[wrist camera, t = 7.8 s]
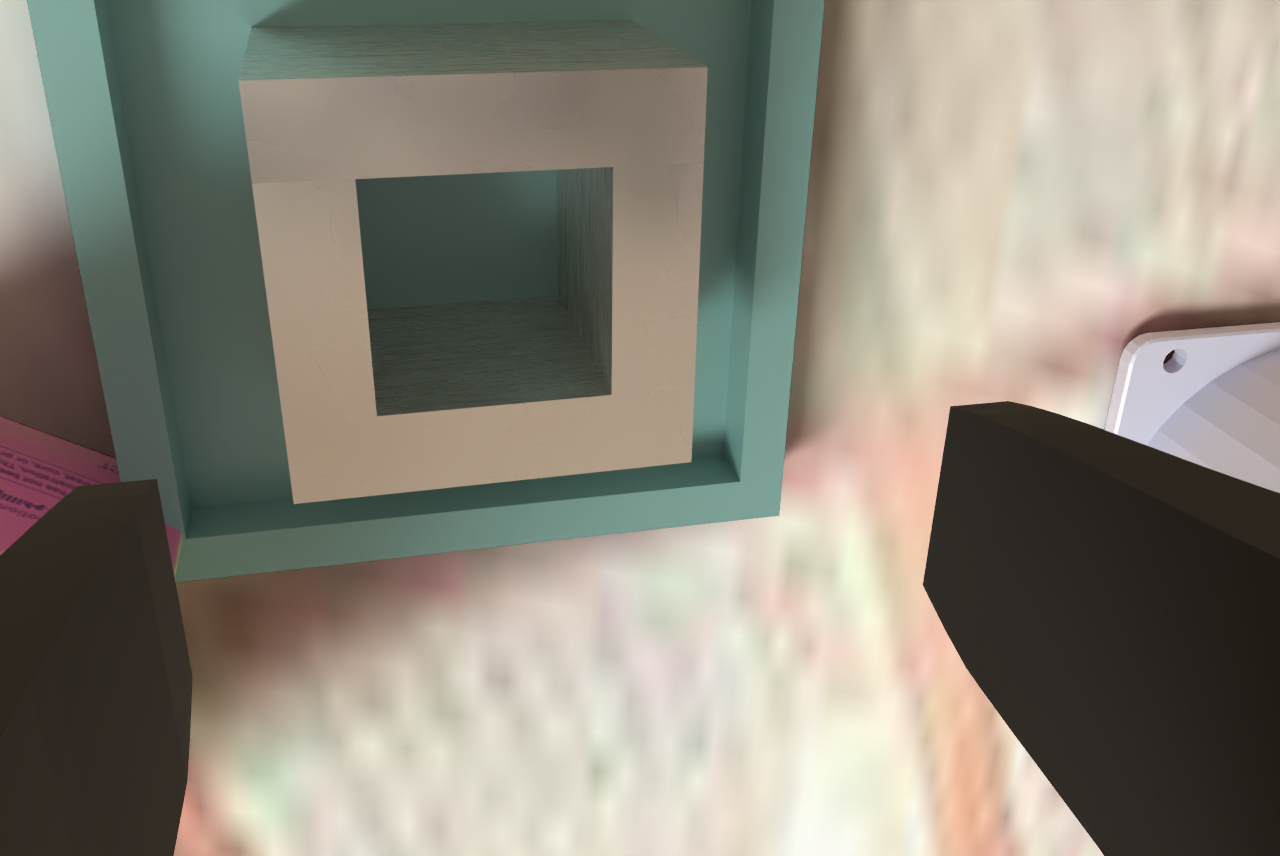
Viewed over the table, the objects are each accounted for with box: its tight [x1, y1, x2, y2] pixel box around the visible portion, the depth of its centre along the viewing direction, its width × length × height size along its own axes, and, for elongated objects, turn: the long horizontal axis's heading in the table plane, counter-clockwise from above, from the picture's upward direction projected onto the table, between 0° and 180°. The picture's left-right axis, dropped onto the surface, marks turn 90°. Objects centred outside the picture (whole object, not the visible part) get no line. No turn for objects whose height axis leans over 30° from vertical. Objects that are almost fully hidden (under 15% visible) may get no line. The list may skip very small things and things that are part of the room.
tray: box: [27, 0, 825, 583], centre depth 19 cm, size 11×11×2 cm
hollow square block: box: [239, 20, 708, 504], centre depth 17 cm, size 6×6×4 cm
